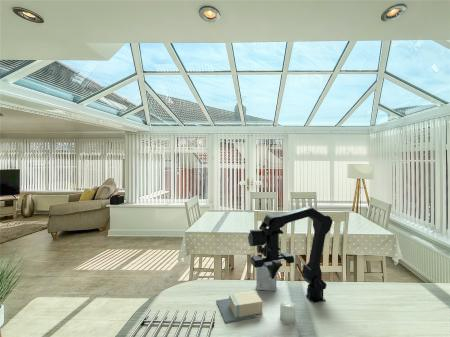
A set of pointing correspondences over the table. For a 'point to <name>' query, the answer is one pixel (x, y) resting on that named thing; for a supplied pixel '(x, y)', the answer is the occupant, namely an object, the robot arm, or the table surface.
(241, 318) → the mat
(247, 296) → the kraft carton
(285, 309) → the white rounded cylinder
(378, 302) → the table surface
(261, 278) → the product box
